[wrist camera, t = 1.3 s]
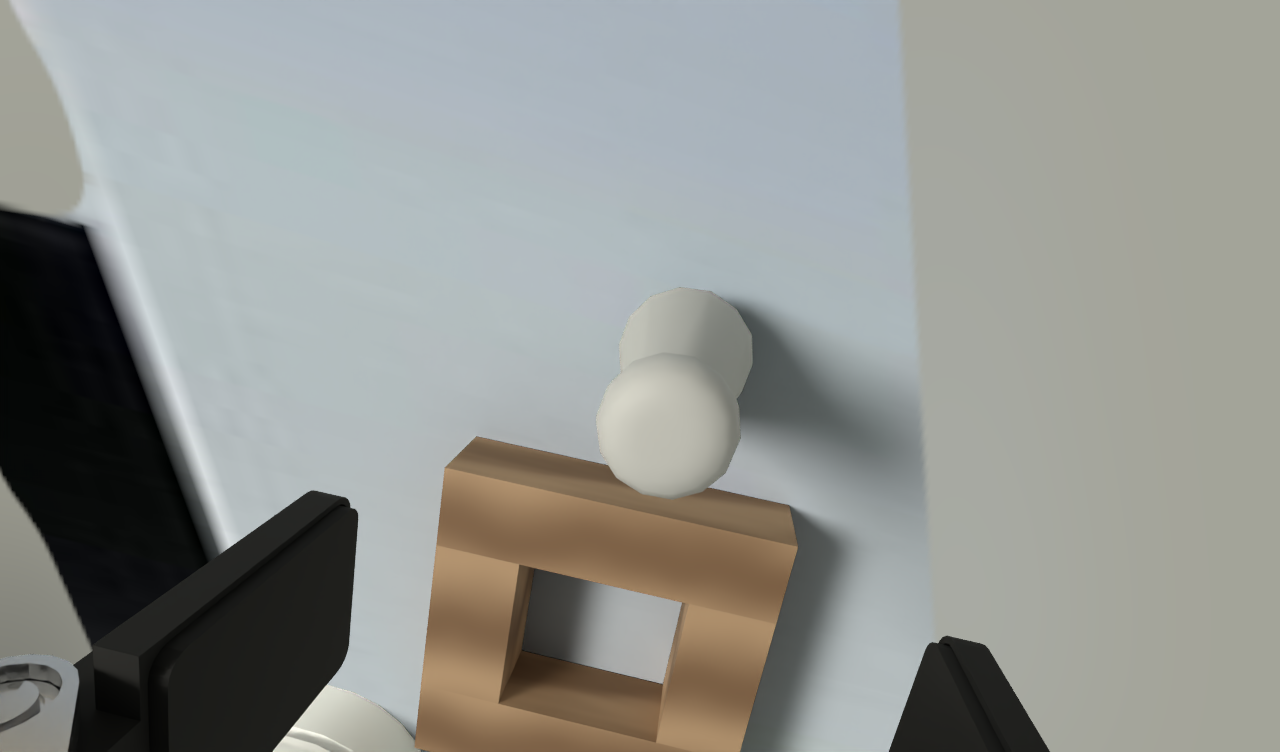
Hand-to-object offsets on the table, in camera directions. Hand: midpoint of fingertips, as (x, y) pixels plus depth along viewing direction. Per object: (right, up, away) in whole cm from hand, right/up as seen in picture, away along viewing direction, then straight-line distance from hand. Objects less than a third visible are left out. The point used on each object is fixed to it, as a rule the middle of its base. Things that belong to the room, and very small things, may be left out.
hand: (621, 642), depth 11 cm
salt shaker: (+3, +6, +21) cm, 22 cm away
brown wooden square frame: (-2, -8, +25) cm, 26 cm away
